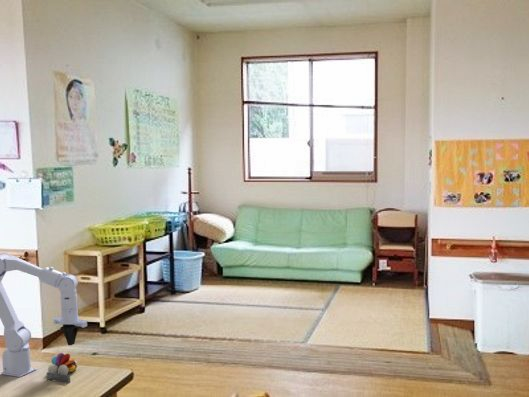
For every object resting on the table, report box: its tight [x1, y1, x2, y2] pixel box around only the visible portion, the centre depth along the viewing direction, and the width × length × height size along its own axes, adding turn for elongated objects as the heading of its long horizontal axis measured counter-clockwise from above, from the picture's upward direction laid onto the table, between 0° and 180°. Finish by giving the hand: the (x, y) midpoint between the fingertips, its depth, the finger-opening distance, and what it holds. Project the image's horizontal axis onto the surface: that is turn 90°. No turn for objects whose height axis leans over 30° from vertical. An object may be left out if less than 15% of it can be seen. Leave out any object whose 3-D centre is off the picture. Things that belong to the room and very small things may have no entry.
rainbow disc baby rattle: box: [47, 352, 78, 375], centre depth 208 cm, size 8×10×7 cm
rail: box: [46, 371, 71, 384], centre depth 200 cm, size 10×1×2 cm, turn 66°
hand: (71, 344), depth 211 cm, fingers closed
